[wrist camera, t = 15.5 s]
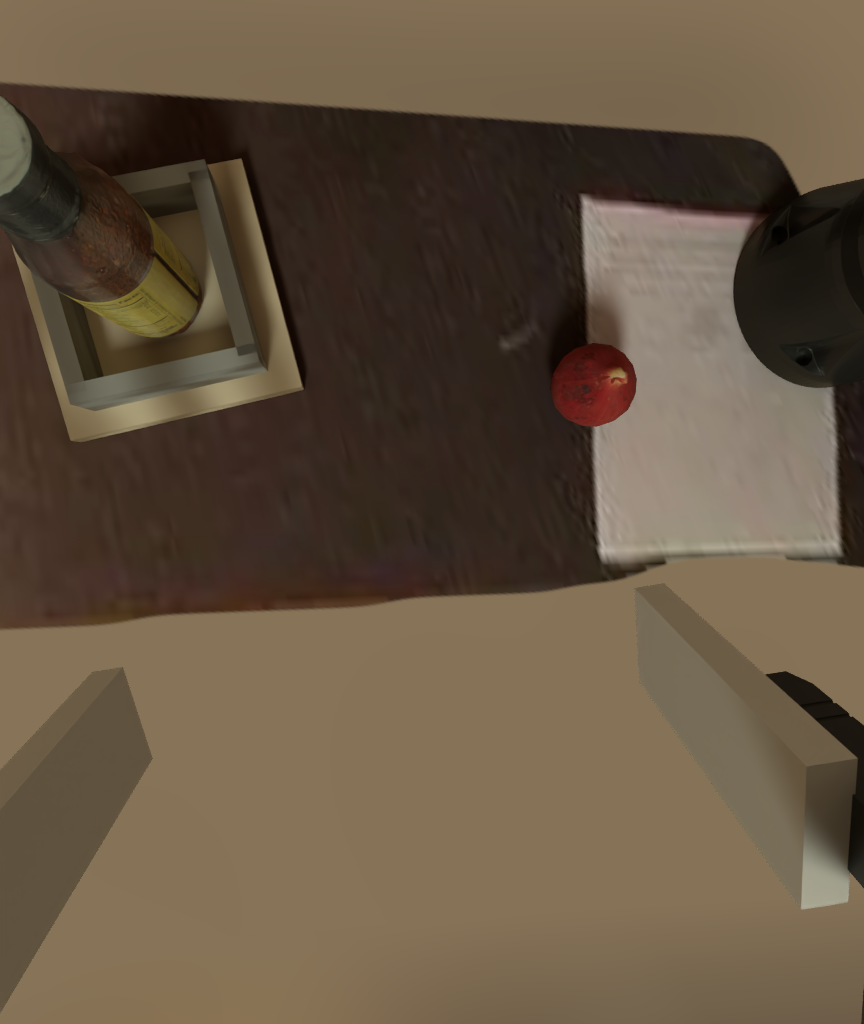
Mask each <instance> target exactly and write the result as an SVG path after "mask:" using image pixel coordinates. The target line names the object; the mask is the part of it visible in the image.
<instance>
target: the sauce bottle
mask: <svg viewBox="0 0 864 1024" xmlns="http://www.w3.org/2000/svg"><path fill="white" fill-rule="evenodd" d="M0 226H1V227H2V228H3V229H4V231H5V233H6V234H7V236H8V238H9V240H10V242H11V243H12V245H13V247H14V249H15V251H16V253H17V255H18V256H19V258H20V259H21V260H22V262H23V263H24V264H25V265H26V266H27V267H28V268H29V269H30V271H31V272H32V273H33V274H34V275H36V276H37V277H38V278H39V279H40V280H42V281H43V282H44V283H46V284H47V285H49V286H50V287H52V288H54V289H55V290H57V291H58V292H60V293H62V294H64V295H66V296H68V297H69V298H71V299H73V300H75V301H77V302H78V303H80V304H82V305H84V306H85V307H87V308H89V309H90V310H92V311H94V312H95V313H97V314H99V315H101V316H102V317H104V318H106V319H108V320H110V321H112V322H113V323H115V324H117V325H118V326H120V327H122V328H124V329H125V330H127V331H129V332H132V333H134V334H137V335H140V336H144V337H147V338H163V337H165V338H166V337H171V336H174V335H177V334H181V333H183V332H185V331H186V330H187V329H188V328H189V327H190V325H191V324H192V323H193V322H194V321H195V318H196V317H197V315H198V313H199V309H200V307H201V304H202V301H203V300H202V290H201V286H200V283H199V281H198V278H197V276H196V274H195V271H194V269H193V267H192V265H191V264H190V262H189V261H188V260H187V258H186V257H185V256H184V255H183V254H182V253H181V252H180V250H179V249H178V248H177V247H176V246H175V245H174V243H173V242H172V241H171V240H170V239H169V238H168V237H167V235H166V234H165V233H164V232H163V231H162V230H161V229H160V227H159V226H158V225H157V224H156V223H155V222H154V220H153V219H152V218H151V217H150V216H149V215H148V213H147V212H146V211H145V210H144V209H143V208H142V207H141V205H140V204H139V203H138V202H137V201H136V200H135V199H134V198H133V197H132V196H131V195H130V194H129V193H127V192H126V191H125V189H124V188H123V187H122V186H121V185H120V184H119V183H118V182H117V181H116V180H115V179H114V178H112V177H111V176H109V175H108V174H107V173H105V172H104V171H103V170H102V169H100V168H99V167H97V166H94V165H93V164H91V163H89V162H88V161H87V160H85V159H84V158H83V157H82V156H80V155H79V154H77V153H69V154H68V153H60V152H54V151H52V150H51V149H50V148H49V147H48V146H47V145H45V143H44V141H43V138H42V136H41V134H40V133H39V131H38V130H37V128H36V127H35V125H34V124H33V123H32V122H31V121H30V119H29V118H28V117H27V116H26V115H25V114H23V113H22V112H21V111H20V110H19V109H18V108H16V107H15V106H14V105H13V104H12V103H10V102H9V101H8V100H7V99H6V98H4V97H3V96H1V95H0Z"/></svg>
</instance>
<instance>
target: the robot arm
mask: <svg viewBox="0 0 864 1024" xmlns="http://www.w3.org/2000/svg"><path fill="white" fill-rule="evenodd" d="M734 300H735V309H736V314H737V318H738V322H739V325H740V328H741V331H742V333H743V336H744V338H745V340H746V342H747V343H748V345H749V347H750V348H751V350H752V351H753V353H754V354H755V355H756V357H757V358H758V359H759V360H760V361H761V362H762V363H763V364H764V365H765V366H766V367H767V368H768V369H769V370H771V371H772V372H773V373H775V374H776V375H778V376H779V377H781V378H783V379H785V380H787V381H789V382H792V383H794V384H798V385H801V386H806V387H813V388H827V387H834V386H838V385H843V384H848V383H853V382H857V381H861V380H864V179H860V180H855V181H851V182H846V183H842V184H836V185H832V186H827V187H823V188H819V189H816V190H813V191H811V192H808V193H806V194H803V195H801V196H799V197H797V198H796V199H794V200H792V201H791V202H789V203H788V204H786V205H785V206H783V207H782V208H780V209H779V210H777V211H776V212H774V213H773V214H771V215H770V216H769V217H767V218H766V219H765V220H764V221H763V222H762V223H761V224H760V225H759V226H758V227H757V229H756V230H755V231H754V232H753V234H752V235H751V237H750V238H749V240H748V242H747V244H746V245H745V247H744V250H743V252H742V254H741V257H740V260H739V263H738V267H737V271H736V276H735V285H734ZM635 607H636V626H637V646H638V665H639V682H640V684H641V685H642V686H643V688H644V689H645V691H646V692H647V694H648V695H649V696H650V698H651V699H652V701H653V702H654V704H655V705H656V706H657V708H658V709H659V711H660V712H661V713H662V715H663V716H664V717H665V719H666V720H667V722H668V723H669V725H670V726H671V727H672V729H673V730H674V732H675V733H676V734H677V736H678V737H679V739H680V740H681V742H682V743H683V744H684V746H685V747H686V749H687V750H688V751H689V753H690V754H691V756H692V757H693V758H694V760H695V761H696V762H697V764H698V765H699V767H700V768H701V770H702V771H703V772H704V774H705V775H706V777H707V778H708V779H709V781H710V782H711V784H712V785H713V787H714V788H715V789H716V791H717V792H718V794H719V795H720V796H721V798H722V799H723V801H724V802H725V803H726V805H727V806H728V808H729V809H730V810H731V812H732V813H733V815H734V816H735V817H736V819H737V820H738V822H739V823H740V825H741V826H742V827H743V829H744V830H745V831H746V833H747V834H748V836H749V837H750V839H751V840H752V841H753V842H754V844H755V846H756V847H757V848H758V850H759V851H760V853H761V854H762V856H763V857H764V858H765V860H766V861H767V863H768V864H769V865H770V867H771V868H772V870H773V871H774V872H775V874H776V875H777V877H778V878H779V879H780V881H781V882H782V884H783V885H784V886H785V888H786V889H787V891H788V892H789V893H790V895H791V896H792V898H793V899H794V900H795V902H796V903H797V905H798V906H799V907H800V909H809V908H814V907H821V906H827V905H833V904H840V903H846V902H848V894H849V879H850V873H851V874H852V875H853V876H854V877H855V878H856V880H857V881H858V882H859V883H860V884H861V885H862V887H863V888H864V725H862V724H861V723H860V722H859V721H858V720H856V719H855V718H854V717H850V716H849V713H848V712H847V711H845V710H844V709H843V708H842V707H840V706H839V705H838V704H837V703H833V701H832V699H831V698H830V697H828V696H827V695H826V694H825V693H823V692H822V691H821V690H820V689H818V688H817V687H816V686H815V685H814V684H812V683H810V682H808V681H806V680H804V679H801V678H799V677H797V676H795V675H793V674H790V673H788V672H786V671H785V672H778V673H772V674H766V675H765V674H764V673H763V672H762V671H760V670H759V669H758V668H757V667H756V666H755V665H754V664H752V662H750V661H749V660H748V659H747V658H746V657H745V656H744V655H743V654H742V653H741V652H739V651H738V650H737V649H736V648H735V647H734V646H733V645H732V644H731V643H729V642H728V641H727V640H726V639H725V638H724V637H723V636H721V634H719V633H718V632H717V631H716V630H715V629H714V628H713V627H712V626H711V625H709V624H708V623H707V622H706V621H705V620H704V619H702V617H701V616H699V615H698V614H697V613H696V612H695V611H694V610H693V609H692V608H691V607H690V606H688V605H687V604H686V603H685V602H684V601H683V600H681V598H680V597H678V596H677V595H676V594H675V593H674V592H673V591H672V590H671V589H669V588H668V587H667V586H666V585H665V584H658V585H652V586H645V587H639V588H635ZM151 760H152V755H151V752H150V749H149V746H148V743H147V740H146V737H145V734H144V731H143V728H142V725H141V722H140V718H139V716H138V712H137V710H136V706H135V703H134V700H133V697H132V694H131V691H130V688H129V685H128V682H127V679H126V676H125V673H124V670H123V667H122V668H115V669H109V670H102V671H96V672H92V673H91V674H90V675H89V677H87V679H86V680H85V681H84V682H83V683H82V684H81V685H80V686H79V687H78V688H77V689H76V690H75V691H74V692H73V693H72V694H71V696H70V697H69V698H68V699H67V700H66V701H65V702H64V703H63V704H62V705H61V706H60V707H59V708H58V709H57V710H56V712H55V713H54V714H53V715H52V716H51V717H50V718H49V719H48V720H47V721H46V722H45V723H44V724H43V725H42V726H41V728H39V730H38V731H37V732H36V733H35V734H34V735H33V736H32V737H31V738H30V739H29V740H28V742H26V743H25V744H24V746H23V747H22V748H21V749H20V750H19V751H18V752H17V753H16V754H15V755H14V756H13V757H12V759H10V760H9V761H8V763H7V764H6V765H5V766H4V767H3V768H2V769H1V770H0V1013H1V1011H2V1009H3V1008H4V1006H5V1004H6V1003H7V1001H8V999H9V998H10V996H11V994H12V993H13V991H14V989H15V988H16V986H17V984H18V983H19V981H20V979H21V978H22V976H23V974H24V973H25V971H26V969H27V967H28V966H29V964H30V963H31V961H32V959H33V957H34V956H35V954H36V952H37V951H38V949H39V947H40V946H41V944H42V942H43V941H44V939H45V937H46V935H47V934H48V932H49V931H50V929H51V927H52V926H53V924H54V922H55V921H56V919H57V917H58V916H59V914H60V912H61V911H62V909H63V907H64V906H65V904H66V902H67V901H68V899H69V897H70V896H71V894H72V892H73V891H74V889H75V887H76V886H77V884H78V882H79V881H80V879H81V877H82V876H83V874H84V872H85V871H86V869H87V867H88V865H89V864H90V862H91V860H92V859H93V857H94V855H95V854H96V852H97V851H98V848H99V847H100V845H101V844H102V842H103V840H104V839H105V837H106V835H107V834H108V832H109V830H110V829H111V827H112V825H113V824H114V822H115V820H116V819H117V817H118V815H119V813H120V812H121V810H122V809H123V807H124V805H125V804H126V802H127V800H128V799H129V797H130V795H131V793H132V792H133V790H134V789H135V787H136V785H137V784H138V782H139V780H140V778H141V777H142V775H143V774H144V772H145V770H146V769H147V767H148V765H149V764H150V762H151ZM861 1024H864V991H863V1007H862V1022H861Z"/></svg>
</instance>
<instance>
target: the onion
mask: <svg viewBox="0 0 864 1024" xmlns="http://www.w3.org/2000/svg"><path fill="white" fill-rule="evenodd" d="M636 381H637V379H636V375H635V371H634V367H633V365H632V363H631V362H630V361H629V359H628V358H627V357H626V355H625V354H624V353H623V352H621V351H619V350H618V349H616V348H615V347H613V346H611V345H605V344H597V343H592V344H589V345H585V346H582V347H578V348H576V349H574V350H573V351H571V352H570V353H568V354H567V355H566V356H564V357H563V359H562V360H561V362H560V363H559V365H558V366H557V368H556V369H555V371H554V373H553V376H552V382H551V387H550V391H551V395H552V399H553V403H554V406H555V407H556V408H557V410H558V411H559V412H560V413H561V414H562V416H563V417H564V418H566V419H568V420H570V421H572V422H574V423H577V424H579V425H581V426H596V427H597V426H600V425H603V424H606V423H609V422H612V421H614V420H616V419H617V418H618V417H619V416H621V415H622V414H623V413H624V412H626V411H627V410H628V408H629V407H630V405H631V402H632V400H633V398H634V396H635V393H636Z"/></svg>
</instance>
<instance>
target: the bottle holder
mask: <svg viewBox="0 0 864 1024" xmlns="http://www.w3.org/2000/svg"><path fill="white" fill-rule="evenodd" d="M112 178H114V179H115V180H116V181H117V182H118V183H119V184H120V185H121V186H122V187H123V188H124V189H125V191H126V192H127V193H129V194H130V195H131V196H132V197H133V198H134V199H135V200H136V201H137V202H138V203H139V204H140V205H141V207H142V208H143V209H144V210H145V211H146V212H147V213H148V215H149V216H150V217H151V218H152V219H153V220H154V222H155V223H156V224H157V225H158V226H159V227H160V229H161V230H162V231H163V232H164V233H165V234H166V235H167V237H168V238H169V239H170V240H171V241H172V242H173V243H174V245H175V246H176V247H177V248H178V249H179V250H180V252H181V253H182V254H183V255H184V256H185V257H186V258H187V260H188V261H189V262H190V264H191V265H192V267H193V269H194V271H195V274H196V276H197V278H198V281H199V283H200V286H201V290H202V300H203V301H202V304H201V307H200V309H199V313H198V315H197V317H196V318H195V321H194V322H193V323H192V324H191V325H190V327H189V328H188V329H187V330H186V331H185V332H183V333H181V334H177V335H174V336H171V337H166V338H165V337H163V338H147V337H144V336H140V335H137V334H134V333H132V332H129V331H127V330H125V329H124V328H122V327H120V326H118V325H117V324H115V323H113V322H112V321H110V320H108V319H106V318H104V317H102V316H101V315H99V314H97V313H95V312H94V311H92V310H90V309H89V308H87V307H85V306H84V305H82V304H80V303H78V302H77V301H75V300H73V299H71V298H69V297H68V296H66V295H64V294H62V293H60V292H58V291H57V290H55V289H54V288H52V287H50V286H49V285H47V284H46V283H44V282H43V281H42V280H40V279H39V278H38V277H37V276H36V275H34V274H33V273H32V272H31V271H30V269H29V268H28V267H27V266H26V265H25V264H24V263H23V262H22V260H21V259H20V258H19V256H18V255H17V253H16V251H15V249H14V247H13V250H14V253H15V256H16V260H17V263H18V266H19V270H20V273H21V276H22V280H23V283H24V286H25V290H26V293H27V296H28V300H29V303H30V306H31V310H32V313H33V316H34V320H35V323H36V326H37V330H38V333H39V336H40V340H41V343H42V346H43V350H44V353H45V356H46V360H47V363H48V366H49V370H50V373H51V376H52V380H53V383H54V386H55V390H56V393H57V396H58V400H59V403H60V406H61V410H62V413H63V416H64V420H65V423H66V426H67V430H68V433H69V436H70V440H71V441H77V442H84V441H88V440H92V439H97V438H101V437H105V436H109V435H114V434H118V433H122V432H126V431H131V430H135V429H139V428H144V427H148V426H152V425H156V424H161V423H165V422H169V421H173V420H178V419H182V418H186V417H190V416H195V415H199V414H203V413H207V412H212V411H216V410H220V409H224V408H229V407H233V406H237V405H241V404H246V403H250V402H254V401H259V400H263V399H267V398H271V397H276V396H280V395H284V394H288V393H293V392H297V391H301V390H304V387H303V384H302V380H301V376H300V372H299V369H298V365H297V361H296V357H295V354H294V350H293V346H292V342H291V339H290V335H289V331H288V327H287V324H286V320H285V316H284V312H283V309H282V305H281V301H280V297H279V294H278V290H277V286H276V283H275V279H274V275H273V271H272V268H271V264H270V260H269V256H268V253H267V249H266V245H265V241H264V238H263V234H262V230H261V226H260V223H259V219H258V215H257V211H256V208H255V204H254V200H253V196H252V193H251V189H250V185H249V182H248V178H247V174H246V170H245V167H244V165H243V162H242V159H235V160H230V161H225V162H220V163H214V164H209V165H207V163H206V161H205V159H202V160H197V161H192V162H186V163H181V164H176V165H170V166H165V167H160V168H154V169H149V170H144V171H139V172H133V173H128V174H123V175H117V176H112ZM12 246H13V245H12Z"/></svg>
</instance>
